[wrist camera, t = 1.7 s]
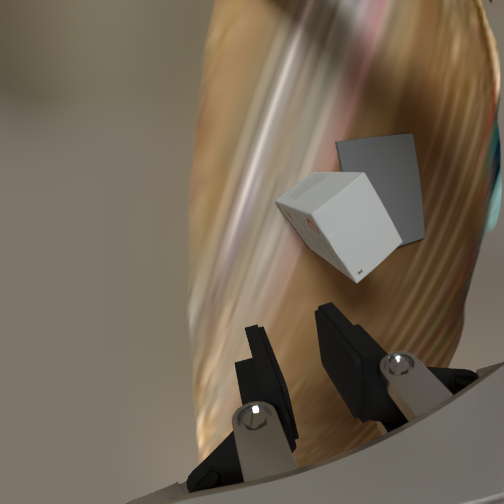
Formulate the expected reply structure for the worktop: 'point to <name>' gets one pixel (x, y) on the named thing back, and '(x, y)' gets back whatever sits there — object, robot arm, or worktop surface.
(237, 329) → the worktop surface
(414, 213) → the mat
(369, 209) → the small box
